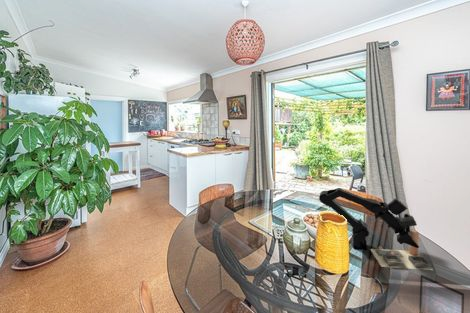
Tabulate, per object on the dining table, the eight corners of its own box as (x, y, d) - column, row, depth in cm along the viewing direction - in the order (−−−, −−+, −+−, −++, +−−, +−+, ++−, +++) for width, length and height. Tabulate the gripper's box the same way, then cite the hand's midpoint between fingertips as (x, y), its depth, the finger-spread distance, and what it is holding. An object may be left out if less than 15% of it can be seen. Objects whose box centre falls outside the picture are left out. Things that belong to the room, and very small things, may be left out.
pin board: (381, 268, 100) (381, 262, 99) (369, 250, 114) (369, 245, 113) (433, 272, 94) (434, 266, 94) (415, 253, 108) (415, 247, 108)
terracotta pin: (411, 255, 105) (411, 233, 103) (407, 251, 108) (408, 230, 107) (419, 256, 104) (420, 234, 102) (415, 251, 108) (416, 230, 106)
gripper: (406, 219, 98) (437, 246, 93) (402, 204, 113) (429, 227, 108) (385, 231, 103) (414, 257, 99) (384, 215, 118) (409, 237, 114)
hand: (417, 244), depth 105 cm, fingers open, 6 cm apart
